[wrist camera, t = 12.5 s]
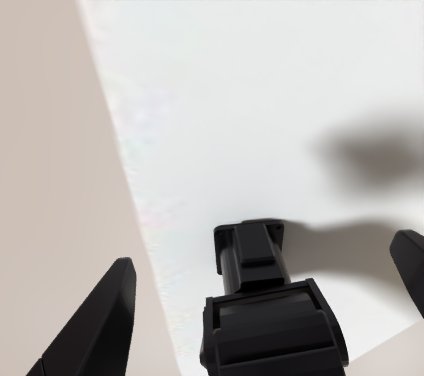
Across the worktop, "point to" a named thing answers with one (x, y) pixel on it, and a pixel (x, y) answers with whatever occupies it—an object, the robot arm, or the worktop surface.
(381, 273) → the worktop surface
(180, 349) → the worktop surface
